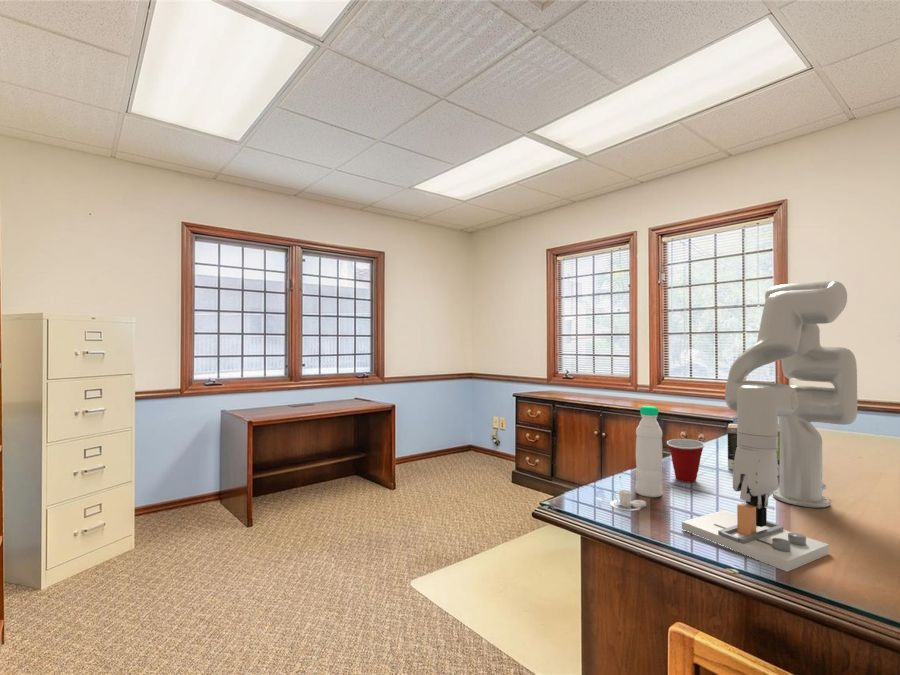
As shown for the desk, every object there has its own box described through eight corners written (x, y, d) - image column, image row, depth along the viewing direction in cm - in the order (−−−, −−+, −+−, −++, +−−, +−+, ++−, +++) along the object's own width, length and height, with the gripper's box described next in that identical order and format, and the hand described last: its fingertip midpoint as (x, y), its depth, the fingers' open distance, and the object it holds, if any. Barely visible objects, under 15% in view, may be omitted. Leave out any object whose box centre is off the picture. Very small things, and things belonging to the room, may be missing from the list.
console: (723, 518, 116) (723, 504, 116) (828, 554, 97) (828, 537, 97) (681, 530, 108) (681, 515, 109) (787, 571, 89) (787, 553, 89)
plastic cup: (659, 477, 150) (659, 440, 150) (680, 473, 155) (680, 437, 156) (690, 487, 141) (691, 447, 141) (712, 482, 146) (712, 443, 146)
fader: (742, 530, 104) (742, 502, 104) (756, 534, 101) (756, 507, 101) (737, 531, 103) (737, 504, 103) (750, 536, 100) (750, 508, 100)
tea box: (779, 469, 161) (779, 426, 161) (780, 476, 152) (780, 431, 152) (728, 463, 169) (728, 422, 169) (727, 469, 160) (727, 426, 161)
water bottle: (665, 499, 130) (665, 408, 130) (638, 497, 131) (638, 407, 131) (659, 491, 137) (659, 405, 137) (633, 489, 138) (633, 404, 138)
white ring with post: (649, 507, 125) (649, 492, 125) (638, 515, 119) (638, 499, 119) (616, 499, 130) (616, 485, 130) (604, 507, 124) (604, 491, 125)
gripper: (758, 435, 111) (757, 513, 110) (720, 441, 103) (719, 524, 103) (793, 441, 104) (793, 524, 104) (755, 448, 97) (755, 537, 97)
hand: (756, 524), depth 104 cm, fingers closed
